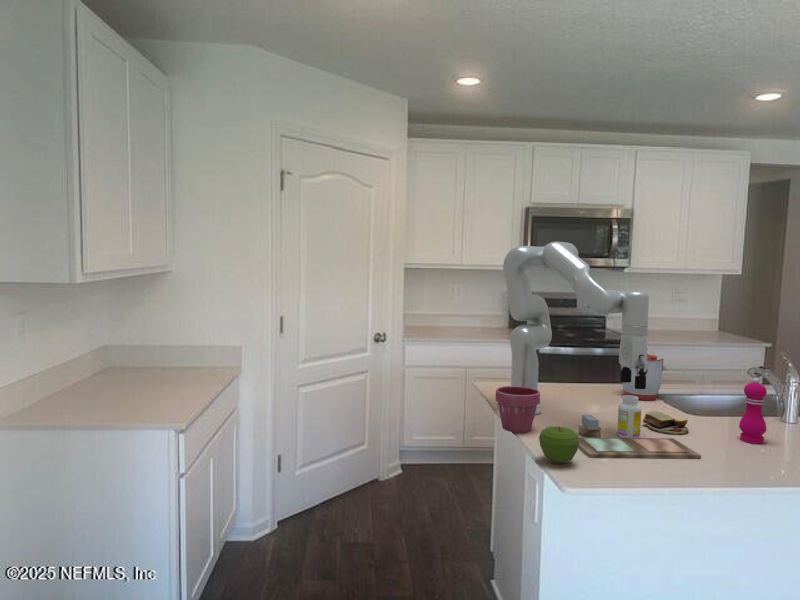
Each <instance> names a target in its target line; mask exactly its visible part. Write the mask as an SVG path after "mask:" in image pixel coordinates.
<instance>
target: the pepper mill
mask: <svg viewBox="0 0 800 600" xmlns="http://www.w3.org/2000/svg"><path fill="white" fill-rule="evenodd" d="M767 393H768V392H767V388H766V386H765V385H763V384H761V383H760V379H759V378H757V377H754V378H753V379H752V382H748V383H747V384H746V385H745V386H744V387H743V394H745V396H746V397H744V399H745V400H744V402H745V403H746V407H745V411H744V414H743V415H742V417H741V419H740V421H739V424H738V425H739V426H738V428H739V430H740V432H741V433H740V436H739V439H740V441H742V442H744V443H749V444H755V445H762V444H764V441H765V440H764V439H765V437H764V436H763V435H764V434H765V433H766V432H767V423H766V420H765V419H764V416H763V411H762V409H763V405H764V404H765V397H766V396H767Z"/></svg>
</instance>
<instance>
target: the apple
mask: <svg viewBox="0 0 800 600" xmlns="http://www.w3.org/2000/svg"><path fill="white" fill-rule="evenodd" d="M538 440H539V446H540V449H541V451H542V453H543V456H544V457H545V459H547V460H548V461H549V462H550V463H553V464H562V465H563V464H566V463H567V462H570V461H572V460H573V459H574V457H575V455H576V454H577V452H578V445H579V441H580V440H579V434H577V433H576V431H574V430H573V429H571V428H568V427H566V426H565V427H563V426H557V425H554V426H553V425H552V426H547V427H545V428H543V429H542V430H541V432H540V434H539V436H538Z"/></svg>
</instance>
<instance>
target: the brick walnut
mask: <svg viewBox="0 0 800 600" xmlns="http://www.w3.org/2000/svg"><path fill="white" fill-rule="evenodd" d="M577 433H578V434H577V435H578V436H580V435H581V436H582V437H583V438H602V437H601V435H602V434H601V433H602V427H600V426H599V425H598V430H589V429H587V428H586V427H585V426H584V425H582V424H579V425H578V432H577ZM581 436H580V437H581Z"/></svg>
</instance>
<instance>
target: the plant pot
mask: <svg viewBox="0 0 800 600" xmlns="http://www.w3.org/2000/svg"><path fill="white" fill-rule="evenodd" d="M495 401H496V403H497V402H498V404H497V405H498V411H499V417H500V421H501V426H502V429H503V430H505V431H507V432H509V433H510V432H511V433H515V434H522V433H523V434H524V433H525V434H526V433H529V432H531V430H532V426H533V422H534V419H535V416H536V415H535V411H536V407H537V406H538V405H539V404H540V403H541V392H540V391H539V390H536V389H533V388H528V387H519V386H511V385H508V386H507V385H505V386H499V387H497V388H496V389H495Z"/></svg>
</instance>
